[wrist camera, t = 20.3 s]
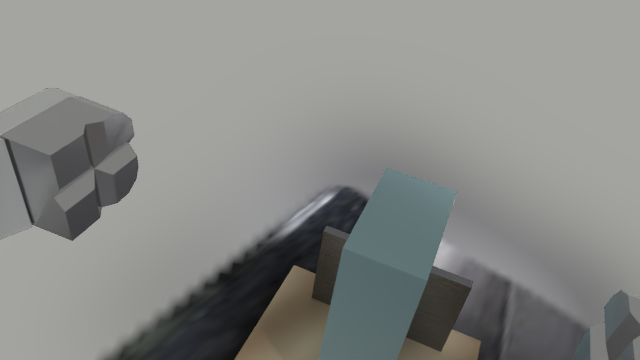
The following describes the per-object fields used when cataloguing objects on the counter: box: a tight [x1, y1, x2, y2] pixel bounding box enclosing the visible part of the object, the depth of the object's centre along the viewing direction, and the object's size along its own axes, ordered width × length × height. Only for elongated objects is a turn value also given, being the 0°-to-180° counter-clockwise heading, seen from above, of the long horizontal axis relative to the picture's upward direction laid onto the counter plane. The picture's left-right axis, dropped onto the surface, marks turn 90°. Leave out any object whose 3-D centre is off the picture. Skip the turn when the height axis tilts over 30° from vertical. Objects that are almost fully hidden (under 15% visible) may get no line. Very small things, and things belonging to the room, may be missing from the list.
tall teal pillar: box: [318, 168, 457, 360], centre depth 30 cm, size 4×7×14 cm, turn 157°
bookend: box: [312, 226, 473, 352], centre depth 36 cm, size 10×2×7 cm, turn 67°
